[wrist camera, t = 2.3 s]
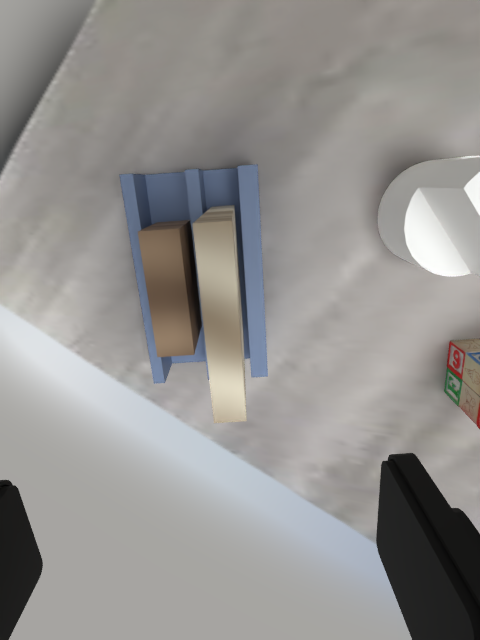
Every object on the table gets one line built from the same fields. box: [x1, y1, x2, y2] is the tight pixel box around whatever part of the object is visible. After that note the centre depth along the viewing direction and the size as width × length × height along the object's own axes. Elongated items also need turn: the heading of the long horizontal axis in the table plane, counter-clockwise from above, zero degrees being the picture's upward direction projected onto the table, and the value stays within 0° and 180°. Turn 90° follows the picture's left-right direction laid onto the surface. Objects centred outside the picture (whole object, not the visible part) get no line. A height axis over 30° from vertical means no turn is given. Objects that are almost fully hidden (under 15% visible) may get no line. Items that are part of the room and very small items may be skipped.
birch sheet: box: [192, 205, 246, 423], centre depth 28 cm, size 12×2×15 cm, turn 4°
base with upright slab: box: [377, 156, 480, 276], centre depth 29 cm, size 9×9×12 cm
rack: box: [120, 164, 268, 383], centre depth 34 cm, size 18×10×5 cm, turn 4°
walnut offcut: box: [138, 220, 202, 357], centre depth 32 cm, size 10×3×7 cm, turn 4°
